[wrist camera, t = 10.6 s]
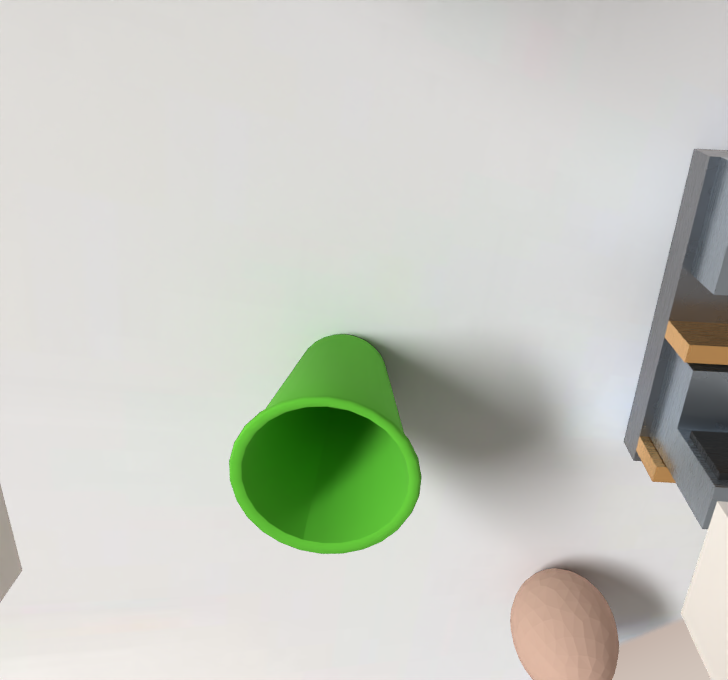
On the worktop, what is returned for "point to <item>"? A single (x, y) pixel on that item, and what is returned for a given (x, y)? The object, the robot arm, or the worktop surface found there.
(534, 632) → the egg
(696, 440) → the l-shaped step block
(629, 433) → the rail
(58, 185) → the worktop surface
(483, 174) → the worktop surface
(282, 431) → the cup
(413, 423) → the worktop surface
